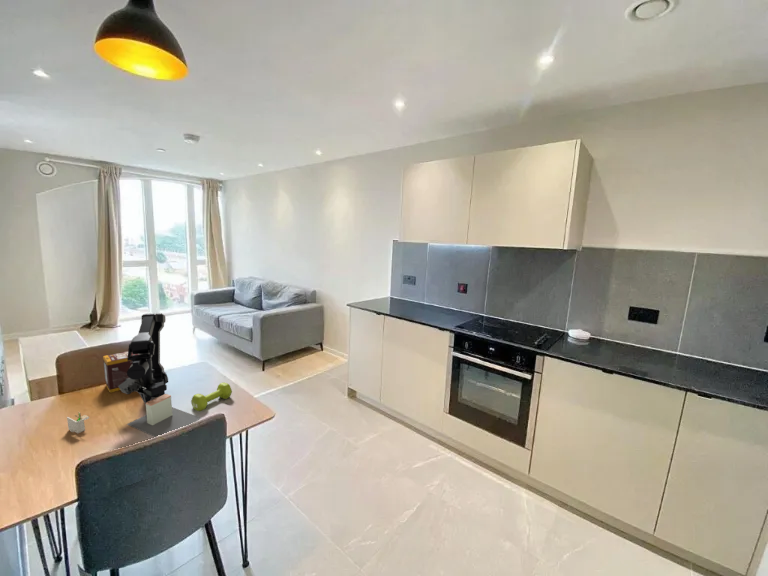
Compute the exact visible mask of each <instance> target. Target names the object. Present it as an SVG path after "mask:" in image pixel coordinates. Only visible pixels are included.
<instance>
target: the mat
mask: <svg viewBox="0 0 768 576" xmlns="http://www.w3.org/2000/svg"><path fill="white" fill-rule="evenodd" d="M199 420H202V417H200V416H198V415H196V414H192V413H190V412H187V411H184V410H182V409H178V408H175V407H174V406H173V407H172V416H170V417H168V418H166V419H164V420H162V421H160V422H158V423H156V424H154V425H151V424H148V423H147V414H145V415H143V416H141V417H139V418H136V419H135V420H133V421H130V422H129V423H127V424H126V425H128V426H130V427H131V428H134V429H136V430H139V431H141V432H143V433H146V434H148V435H151V436H153V437H155V438H157V437H156V436H158V435H162V434H164V433H167V432H169V431H172V430H175V429H178V428H180V427H183V426H186V425H189V424H191V423H192V424H194V423H196V422H197V421H199ZM193 422H194V423H193ZM192 424H191V425H192ZM189 426H190V425H189Z"/></svg>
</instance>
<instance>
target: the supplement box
mask: <svg viewBox="0 0 768 576" xmlns="http://www.w3.org/2000/svg"><path fill="white" fill-rule="evenodd" d="M132 355H139V354H132ZM132 355H131V356H132ZM127 358H128V350H126V351H122V352H118V353H117V352H116V353H113V354H112V353H111V354H107V355H103V356H102V361H103V369H104V379H105V386H106V388H107V390H108V392H109V393H110V394H111V393H115V392H119V391H121V390H120V388H119V385H120V384H122V383H123V382H124V381H125V379H127V378H129V377H128V375H127V371H128V369H129V368H130V366H131V365H132V360H129V361H128V360H127Z"/></svg>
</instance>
